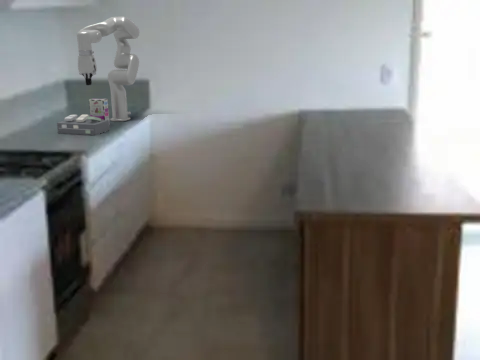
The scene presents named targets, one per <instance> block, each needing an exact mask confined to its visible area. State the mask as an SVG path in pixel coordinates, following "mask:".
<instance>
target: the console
mask: <svg viewBox="0 0 480 360" xmlns="http://www.w3.org/2000/svg"><path fill="white" fill-rule="evenodd" d="M76 119H77V118H76ZM76 119H74V120H72V121H65V120H62V121H59V122H57V123H56V124H57V125H56V126H57V133H58V134H66V135H67V134H68V135H85V136H87V135H88V136H98V135H101V134H103V132H104V133H106V132H105V131H107V132H109V131H110V126H109V120H110V119H109V120H101V121H92V120H89V119H86V120H85V121H84V122H76ZM108 130H109V131H108ZM100 133H101V134H100ZM97 134H98V135H97Z"/></svg>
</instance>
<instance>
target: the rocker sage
mask: <svg viewBox="0 0 480 360" xmlns="http://www.w3.org/2000/svg"><path fill="white" fill-rule="evenodd" d="M87 120H92V121H101V118H98V117H93V116H90V115H89V116H88V118H87Z"/></svg>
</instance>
